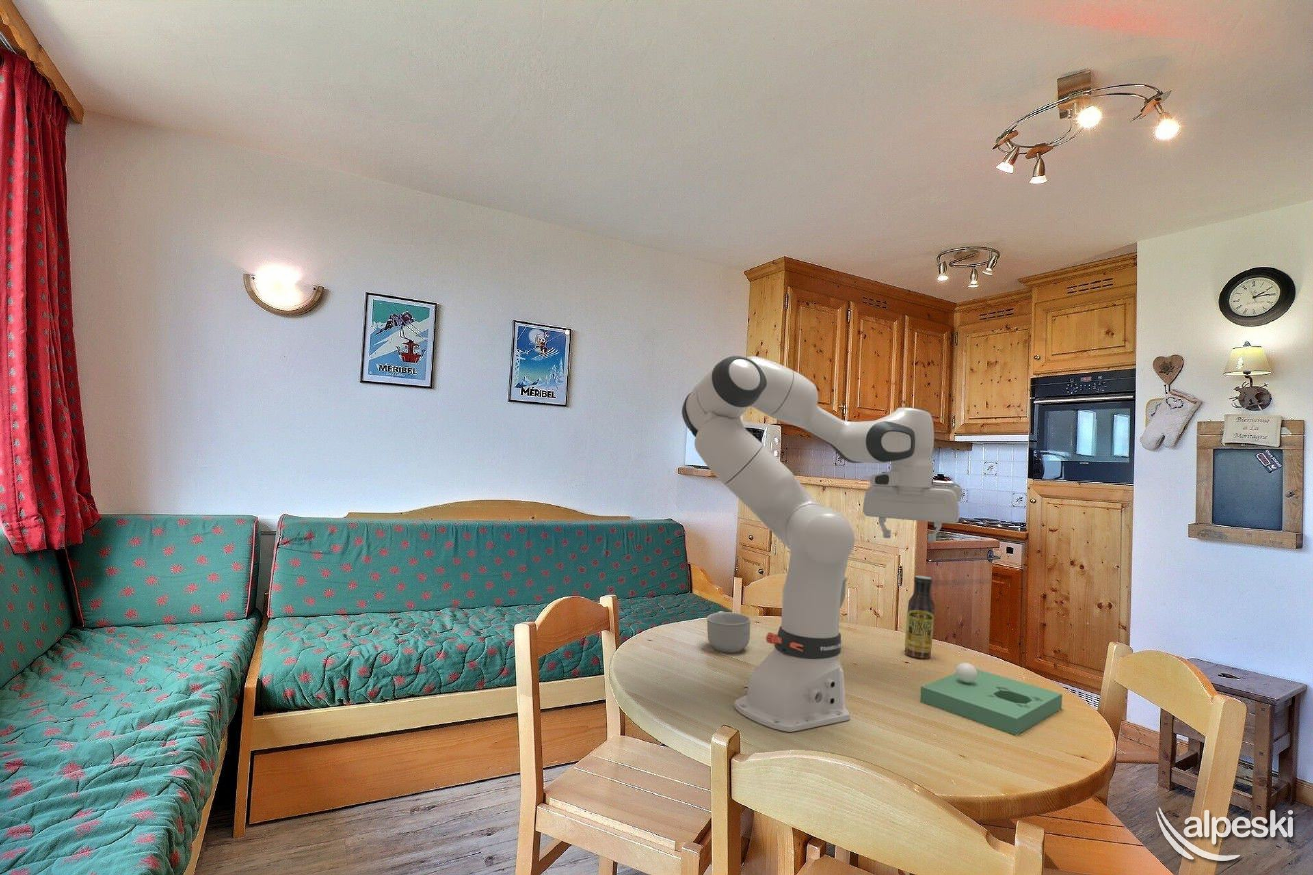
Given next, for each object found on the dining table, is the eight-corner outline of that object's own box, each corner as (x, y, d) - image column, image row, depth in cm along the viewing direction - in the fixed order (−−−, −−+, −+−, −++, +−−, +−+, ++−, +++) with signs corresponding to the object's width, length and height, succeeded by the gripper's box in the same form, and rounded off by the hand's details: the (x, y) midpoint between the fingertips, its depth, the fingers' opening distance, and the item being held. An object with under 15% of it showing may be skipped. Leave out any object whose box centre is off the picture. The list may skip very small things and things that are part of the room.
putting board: (1016, 735, 111) (1016, 718, 111) (920, 701, 125) (920, 686, 125) (1061, 708, 124) (1062, 693, 125) (970, 680, 139) (970, 667, 139)
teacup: (752, 657, 148) (753, 623, 148) (707, 654, 148) (708, 621, 149) (744, 640, 162) (745, 609, 162) (703, 637, 162) (704, 607, 162)
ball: (971, 687, 126) (972, 667, 126) (951, 681, 129) (952, 661, 129) (980, 683, 128) (981, 664, 128) (961, 677, 131) (961, 658, 132)
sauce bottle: (904, 657, 154) (907, 577, 154) (904, 650, 159) (906, 573, 160) (933, 661, 151) (936, 580, 152) (931, 654, 157) (934, 575, 158)
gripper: (962, 481, 138) (960, 543, 138) (867, 476, 148) (865, 533, 148) (961, 482, 133) (959, 546, 132) (862, 476, 142) (860, 536, 142)
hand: (908, 539), depth 140 cm, fingers open, 8 cm apart
